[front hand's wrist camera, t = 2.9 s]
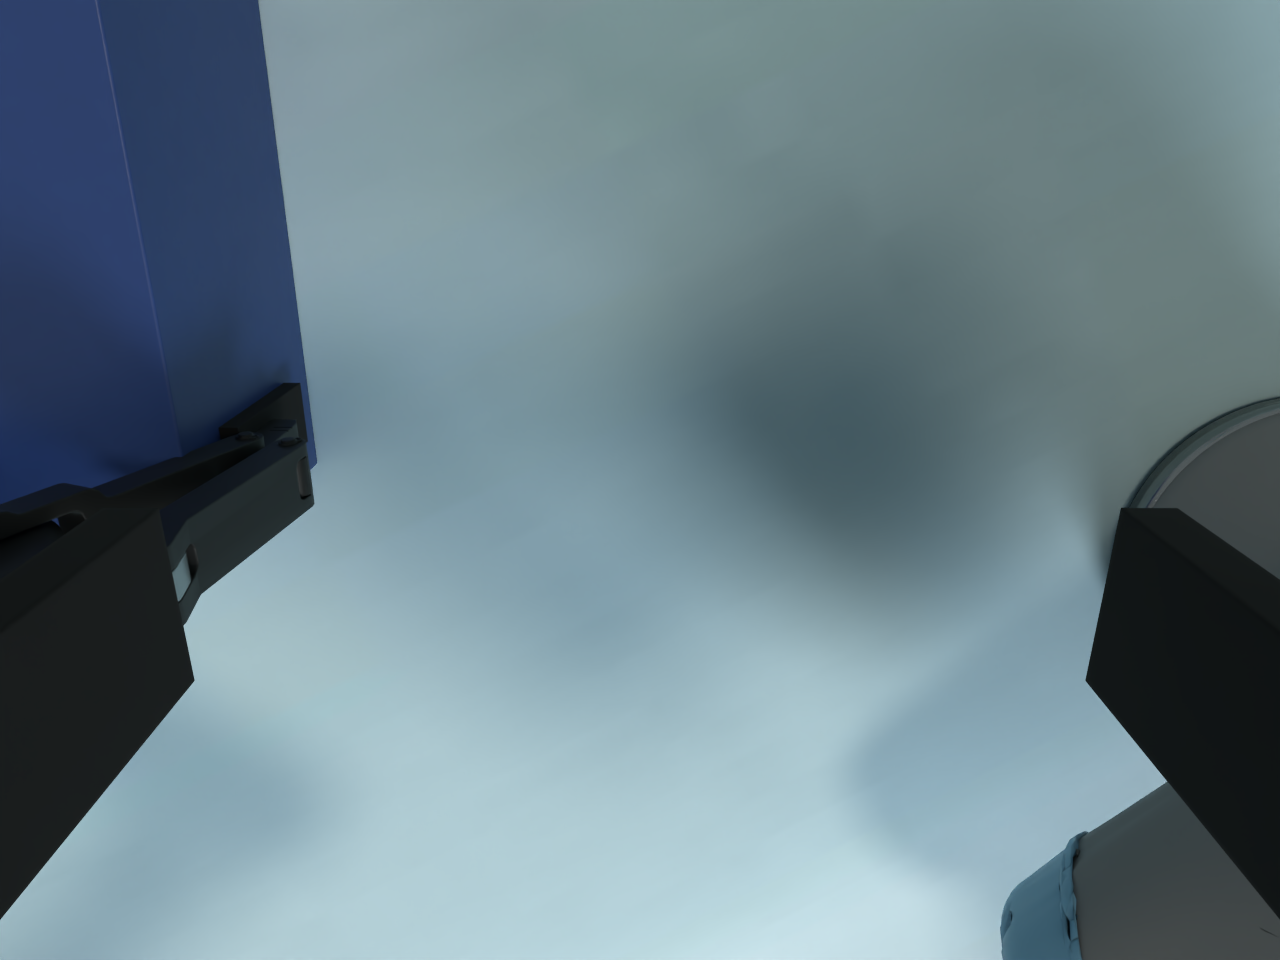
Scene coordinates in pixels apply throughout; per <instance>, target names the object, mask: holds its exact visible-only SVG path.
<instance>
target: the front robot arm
mask: <svg viewBox="0 0 1280 960" xmlns="http://www.w3.org/2000/svg"><path fill="white" fill-rule="evenodd" d="M193 682H194V676H193V671H192V666H191V661H190V656H189V652H188V647H187V642H186V637H185V632H184V627H183V623H182V618H181V613H180V608H179V603H178V598H177V594H176V589H175V584H174V579H173V574H172V569H171V565H170V560H169V555H168V550H167V545H166V540H165V536H164V531H163V526H162V521H161V516H160V511H159V508H102V509H100V510H99V511H98V512H96V513H95V514H93V515H92V516H90V517H89V518H88V519H86V520H85V521H83V522H82V523H80V524H79V525H78V526H76V527H75V528H73V529H72V530H70V531H69V532H67V533H66V534H65V535H63V536H62V537H60V538H59V539H57V540H56V541H55V542H53V543H52V544H50V545H49V546H47V547H46V548H45V549H43V550H42V551H40V552H39V553H37V554H36V555H35V556H33V557H32V558H30V559H29V560H27V561H26V562H25V563H23V564H22V565H20V566H19V567H17V568H16V569H15V570H13V571H12V572H10V573H9V574H7V575H6V576H5V577H3V578H2V579H0V919H1V918H2V917H3V916H4V914H5V913H6V912H7V911H8V909H9V908H10V907H11V906H12V905H13V903H14V902H15V901H16V900H17V898H18V897H19V896H20V895H21V893H22V892H23V891H24V890H25V889H26V887H27V886H28V885H29V884H30V882H31V881H32V880H33V879H34V877H35V876H36V875H37V874H38V873H39V871H40V870H41V869H42V868H43V866H44V865H45V864H46V863H47V861H48V860H49V859H50V858H51V857H52V855H53V854H54V853H55V852H56V850H57V849H58V848H59V847H60V845H61V844H62V843H63V842H64V841H65V839H66V838H67V837H68V836H69V834H70V833H71V832H72V831H73V829H74V828H75V827H76V826H77V825H78V823H79V822H80V821H81V820H82V818H83V817H84V816H85V815H86V813H87V812H88V811H89V810H90V809H91V807H92V806H93V805H94V804H95V802H96V801H97V800H98V799H99V797H100V796H101V795H102V794H103V793H104V791H105V790H106V789H107V788H108V786H109V785H110V784H111V783H112V781H113V780H114V779H115V778H116V777H117V775H118V774H119V773H120V772H121V770H122V769H123V768H124V767H125V765H126V764H127V763H128V762H129V761H130V759H131V758H132V757H133V756H134V754H135V753H136V752H137V751H138V749H139V748H140V747H141V746H142V745H143V743H144V742H145V741H146V740H147V738H148V737H149V736H150V735H151V734H152V732H153V731H154V730H155V729H156V727H157V726H158V725H159V724H160V722H161V721H162V720H163V719H164V718H165V716H166V715H167V714H168V713H169V711H170V710H171V709H172V708H173V706H174V705H175V704H176V703H177V702H178V700H179V699H180V698H181V697H182V695H183V694H184V693H185V692H186V690H187V689H188V688H189V687H190V686H191V684H192V683H193ZM1086 682H1087V683H1088V684H1089V686H1090V687H1091V688H1092V689H1093V690H1094V692H1095V693H1096V694H1097V695H1098V697H1099V698H1100V699H1101V700H1102V702H1103V703H1104V704H1105V705H1106V706H1107V708H1108V709H1109V710H1110V711H1111V713H1112V714H1113V715H1114V716H1115V718H1116V719H1117V720H1118V721H1119V722H1120V724H1121V725H1122V726H1123V727H1124V729H1125V730H1126V731H1127V732H1128V734H1129V735H1130V736H1131V737H1132V738H1133V740H1134V741H1135V742H1136V743H1137V745H1138V746H1139V747H1140V748H1141V749H1142V751H1143V752H1144V753H1145V754H1146V756H1147V757H1148V758H1149V759H1150V761H1151V762H1152V763H1153V764H1154V765H1155V767H1156V768H1157V769H1158V770H1159V772H1160V773H1161V774H1162V775H1163V777H1164V778H1165V779H1166V780H1167V781H1168V782H1166V783H1165V784H1163V785H1162V786H1160V787H1159V788H1157V789H1156V790H1154V791H1153V792H1151V793H1150V794H1148V795H1147V796H1145V797H1144V798H1142V799H1141V800H1139V801H1138V802H1136V803H1135V804H1133V805H1132V806H1130V807H1129V808H1127V809H1125V810H1124V811H1122V812H1121V813H1119V814H1118V815H1116V816H1115V817H1113V818H1112V819H1110V820H1109V821H1107V822H1105V823H1104V824H1102V825H1101V826H1099V827H1097V828H1096V829H1094V830H1093V831H1091V832H1089V833H1088V832H1086V831H1084V832H1082V833H1080V834H1077V835H1076V836H1075V837H1073V838H1072V839H1071V840H1069V842H1068V844H1067V846H1066V848H1065V850H1063V851H1062V852H1061V853H1059V854H1058V855H1057V856H1055V857H1054V858H1053V859H1052V860H1050V861H1049V862H1048V863H1046V864H1045V865H1044V866H1042V867H1041V868H1040V869H1039V870H1037V871H1036V872H1035V873H1033V874H1032V875H1031V876H1029V877H1028V878H1027V879H1025V880H1024V881H1022V882H1021V883H1020V884H1019V885H1018V886H1017V887H1016V888H1015V889H1014V890H1013V891H1012V893H1011V894H1010V896H1009V897H1008V899H1007V901H1006V903H1005V906H1004V909H1003V913H1002V921H1001V927H1000V930H1001V940H1002V957H1003V960H1280V398H1278V399H1273V400H1269V401H1264V402H1261V403H1257V404H1254V405H1251V406H1248V407H1245V408H1242V409H1240V410H1237V411H1235V412H1232V413H1230V414H1228V415H1226V416H1224V417H1222V418H1220V419H1218V420H1216V421H1214V422H1212V423H1211V424H1209V425H1207V426H1206V427H1204V428H1202V429H1201V430H1199V431H1198V432H1196V433H1195V434H1194V435H1192V436H1191V437H1189V438H1188V439H1187V440H1185V441H1184V442H1183V443H1182V444H1181V445H1179V446H1178V447H1177V448H1176V449H1175V450H1173V451H1172V452H1171V453H1170V454H1169V455H1168V456H1167V457H1166V458H1165V459H1164V460H1163V461H1162V462H1161V463H1160V464H1159V465H1158V467H1157V468H1156V469H1155V470H1154V471H1153V472H1152V474H1151V475H1150V476H1149V477H1148V479H1147V480H1146V481H1145V483H1144V484H1143V486H1142V487H1141V488H1140V490H1139V492H1138V493H1137V495H1136V497H1135V498H1134V500H1133V502H1132V504H1131V506H1130V508H1121V511H1120V516H1119V521H1118V526H1117V531H1116V536H1115V540H1114V545H1113V550H1112V555H1111V560H1110V565H1109V569H1108V574H1107V579H1106V584H1105V589H1104V594H1103V598H1102V603H1101V608H1100V613H1099V618H1098V623H1097V627H1096V632H1095V637H1094V642H1093V647H1092V652H1091V656H1090V661H1089V666H1088V671H1087V676H1086Z"/></svg>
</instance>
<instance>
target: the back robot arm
mask: <svg viewBox="0 0 1280 960" xmlns="http://www.w3.org/2000/svg"><path fill="white" fill-rule="evenodd" d="M219 434H220V440H219V441H217V442H214V443H211V444H209V445H206V446H203V447H201V448H198V449H195V450H192V451H190V452H189V453H188V454H186V455H185V456H183V457H174V458H171V459H168V460H166V461H163V462H160V463H158V464H155V465H152V466H150V467H147V468H144V469H142V470H139V471H136V472H133V473H131V474H128V475H125V476H123V477H120V478H117V479H115V480H112V481H109V482H107V483H104V484H101V485H99V486H96V487H93V488H88V487H83V486H78V485H73V484H68V483H60V484H56V485H53V486H50V487H48V488H45V489H42V490H39V491H36V492H34V493H31V494H28V495H25V496H22V497H19V498H17V499H14V500H11V501H8V502H5V503H3V504H0V579H2V578H3V577H5V576H6V575H7V574H9V573H10V572H12V571H13V570H15V569H16V568H17V567H19V566H20V565H22V564H23V563H25V562H26V561H27V560H29V559H30V558H32V557H33V556H35V555H36V554H37V553H39V552H40V551H42V550H43V549H45V548H46V547H47V546H49V545H50V544H52V543H53V542H55V541H56V540H57V539H59V538H60V537H62V536H63V535H65V534H66V533H67V532H69V531H70V530H72V529H73V528H75V527H76V526H78V525H79V524H80V523H82V522H83V521H85V520H86V519H88V518H89V517H90V516H92V515H93V514H95V513H96V512H98V511H99V510H100V509H102V508H159V511H160V516H161V521H162V526H163V531H164V536H165V540H166V545H167V550H168V555H169V560H170V565H171V569H172V574H173V579H174V584H175V589H176V594H177V598H178V603H179V608H180V613H181V618H182V623H183V625H184V624H185V623H186V622H187V620H188V618H189V616H190V614H191V612H192V610H193V609H194V607H195V605H196V603H197V601H198V599H199V597H200V595H201V594H202V593H203V592H204V591H206V590H207V589H208V588H209V587H211V586H212V585H213V584H215V583H216V582H217V581H218V580H220V579H221V578H222V577H223V576H225V575H226V574H227V573H229V572H230V571H231V570H232V569H234V568H235V567H236V566H237V565H239V564H240V563H241V562H242V561H244V560H245V559H246V558H248V557H249V556H250V555H251V554H253V553H254V552H255V551H256V550H258V549H259V548H260V547H262V546H263V545H264V544H265V543H267V542H268V541H269V540H270V539H272V538H273V537H274V536H275V535H277V534H278V533H279V532H281V531H282V530H283V529H284V528H286V527H287V526H288V525H289V524H291V523H292V522H293V521H294V520H296V519H297V518H298V517H300V516H301V515H302V514H303V513H305V512H306V511H307V510H308V509H310V508H311V507H312V506H313V505H314V497H313V489H312V481H311V473H310V466H309V458H308V452H307V444H306V443H307V442H308V438H307V430H306V422H305V415H304V407H303V399H302V392H301V384H300V383H283V384H281V385H280V386H278V387H277V388H275V389H274V390H272V391H271V392H269V393H268V394H267V395H265V396H264V397H262V398H261V399H259V400H258V401H256V402H255V403H254V404H252V405H251V406H249V407H248V408H246V409H245V410H243V411H242V412H240V413H239V414H238V415H236V416H235V417H233V418H232V419H230V420H229V421H227V422H226V423H225V424H223V425H222V426H220V427H219ZM56 518H58V522H59V525H58V524H56V523H55V522H54V521H52V520H53V519H56ZM59 526H60V527H59Z"/></svg>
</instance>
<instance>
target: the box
mask: <svg viewBox="0 0 1280 960" xmlns="http://www.w3.org/2000/svg"><path fill="white" fill-rule="evenodd" d="M283 383H300V384H301V392H302V399H303V407H304V415H305V422H306V430H307V438H308V442H307V443H306V444H307V452H308V458H309V466H310V470H311V469H312V468H313V467H314V466H315V465H316V464H317V458H316V451H315V443H314V435H313V427H312V419H311V412H310V404H309V396H308V388H307V380H306V373H305V365H304V357H303V349H302V342H301V334H300V326H299V318H298V310H297V303H296V295H295V287H294V279H293V271H292V264H291V256H290V248H289V240H288V233H287V225H286V217H285V209H284V201H283V194H282V186H281V178H280V170H279V163H278V155H277V147H276V139H275V131H274V124H273V116H272V108H271V100H270V92H269V85H268V77H267V69H266V61H265V54H264V46H263V38H262V30H261V22H260V15H259V7H258V0H0V504H3V503H5V502H8V501H11V500H14V499H17V498H19V497H22V496H25V495H28V494H31V493H34V492H36V491H39V490H42V489H45V488H48V487H50V486H53V485H56V484H60V483H68V484H73V485H78V486H83V487H88V488H93V487H96V486H99V485H101V484H104V483H107V482H109V481H112V480H115V479H117V478H120V477H123V476H125V475H128V474H131V473H133V472H136V471H139V470H142V469H144V468H147V467H150V466H152V465H155V464H158V463H160V462H163V461H166V460H168V459H171V458H174V457H183V456H185V455H186V454H188V453H189V452H190V451H192V450H195V449H198V448H201V447H203V446H206V445H209V444H211V443H214V442H217V441H219V440H220V434H219V427H220V426H222V425H223V424H225V423H226V422H227V421H229V420H230V419H232V418H233V417H235V416H236V415H238V414H239V413H240V412H242V411H243V410H245V409H246V408H248V407H249V406H251V405H252V404H254V403H255V402H256V401H258V400H259V399H261V398H262V397H264V396H265V395H267V394H268V393H269V392H271V391H272V390H274V389H275V388H277V387H278V386H280V385H281V384H283ZM52 521H54V522H55V523H56V524H58V525H59V522H58V518H56V519H53V520H52ZM59 527H60V526H59Z"/></svg>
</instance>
